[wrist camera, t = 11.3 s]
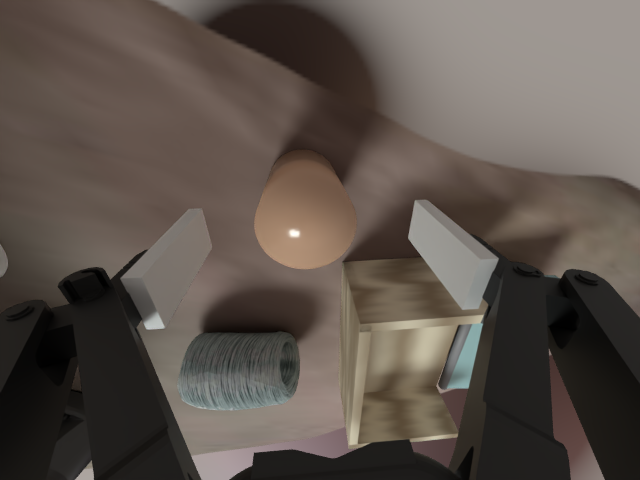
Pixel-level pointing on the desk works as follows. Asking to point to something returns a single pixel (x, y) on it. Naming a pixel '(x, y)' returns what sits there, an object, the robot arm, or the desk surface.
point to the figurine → (3, 261)
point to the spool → (239, 370)
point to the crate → (396, 350)
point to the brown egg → (304, 212)
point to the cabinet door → (463, 356)
